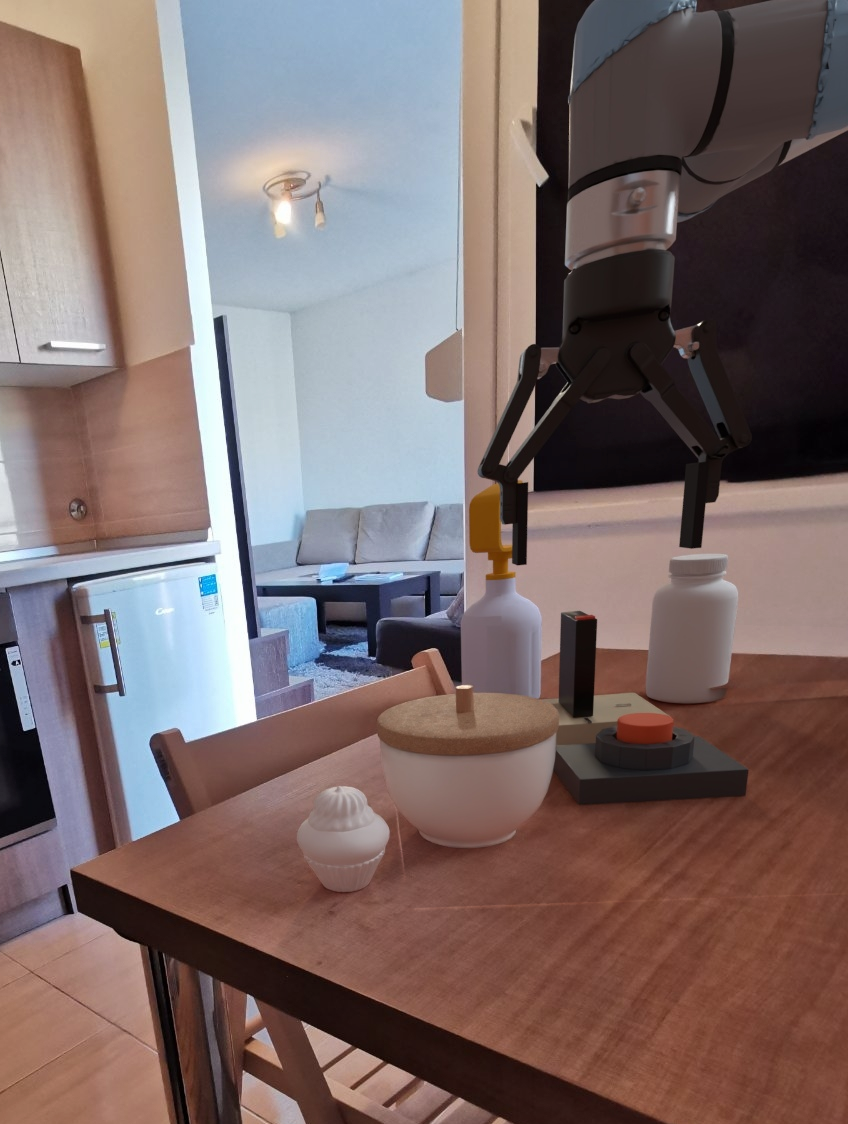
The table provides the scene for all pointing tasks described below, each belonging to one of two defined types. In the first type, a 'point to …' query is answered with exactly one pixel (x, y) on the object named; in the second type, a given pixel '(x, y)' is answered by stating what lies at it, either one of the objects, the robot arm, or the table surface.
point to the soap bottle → (499, 615)
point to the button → (645, 728)
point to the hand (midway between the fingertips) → (602, 556)
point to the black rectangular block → (577, 663)
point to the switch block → (648, 770)
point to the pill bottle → (692, 631)
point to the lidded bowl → (468, 763)
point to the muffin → (343, 839)
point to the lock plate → (598, 717)
